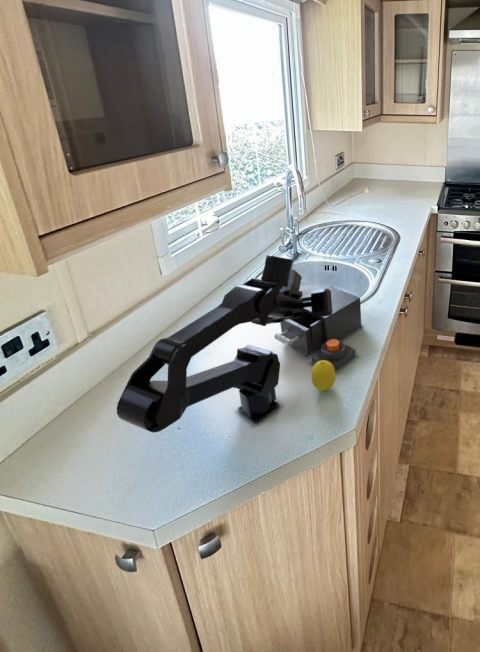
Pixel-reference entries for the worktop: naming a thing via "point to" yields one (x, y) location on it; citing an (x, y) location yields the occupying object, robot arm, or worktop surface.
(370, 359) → the worktop surface
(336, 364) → the control block
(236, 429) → the worktop surface
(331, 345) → the button
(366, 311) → the worktop surface
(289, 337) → the basket
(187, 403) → the robot arm
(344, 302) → the air fryer
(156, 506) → the worktop surface
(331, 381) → the lemon
